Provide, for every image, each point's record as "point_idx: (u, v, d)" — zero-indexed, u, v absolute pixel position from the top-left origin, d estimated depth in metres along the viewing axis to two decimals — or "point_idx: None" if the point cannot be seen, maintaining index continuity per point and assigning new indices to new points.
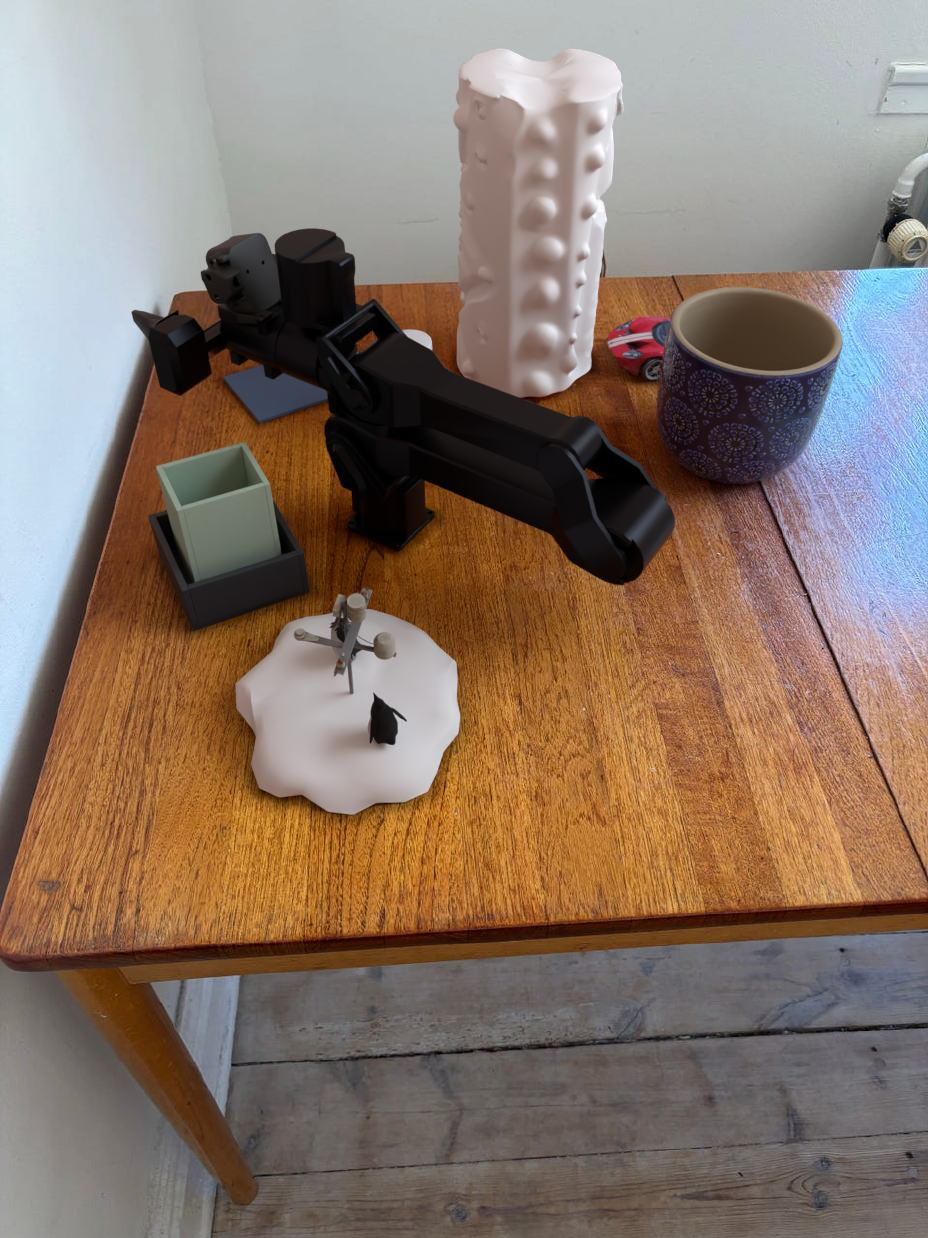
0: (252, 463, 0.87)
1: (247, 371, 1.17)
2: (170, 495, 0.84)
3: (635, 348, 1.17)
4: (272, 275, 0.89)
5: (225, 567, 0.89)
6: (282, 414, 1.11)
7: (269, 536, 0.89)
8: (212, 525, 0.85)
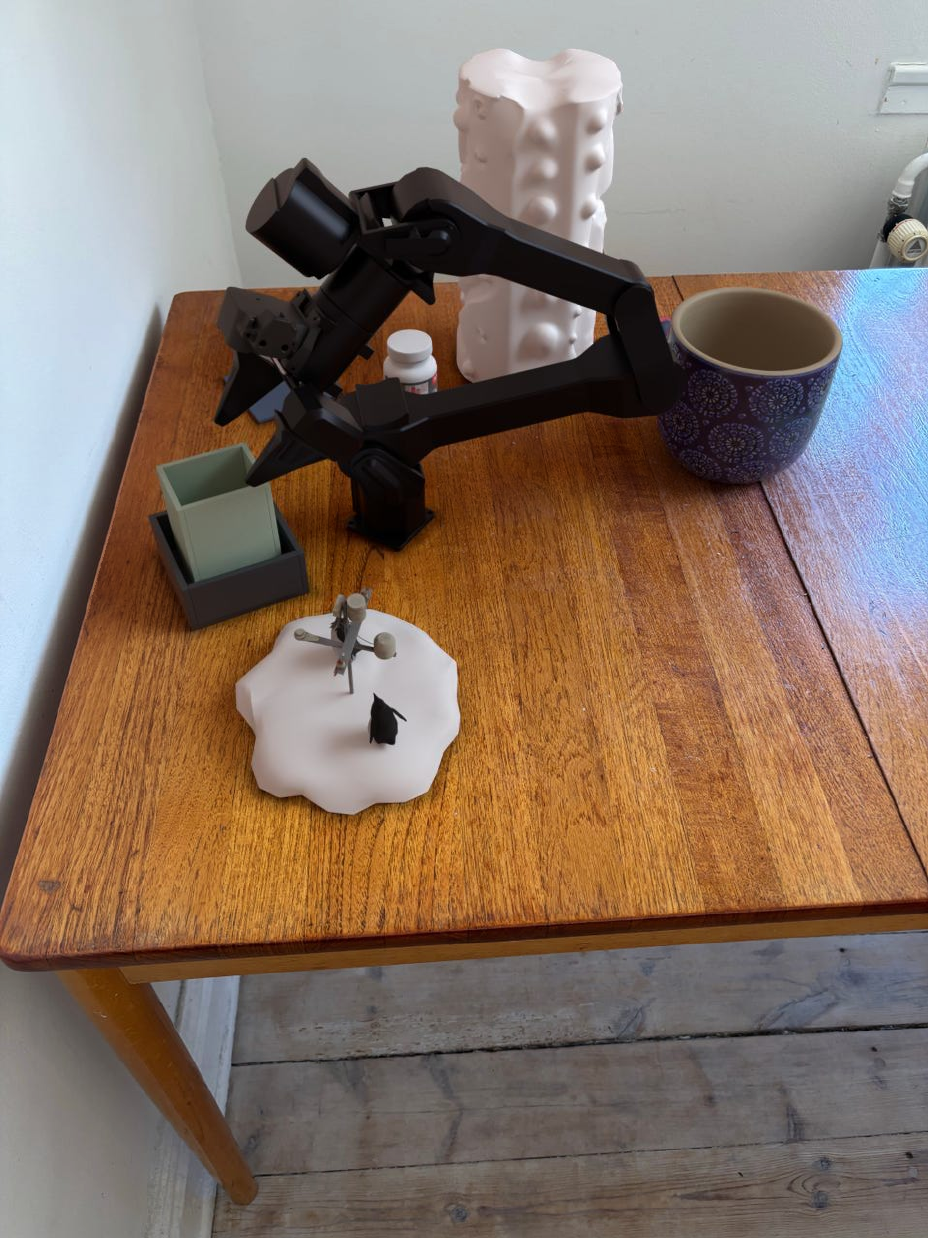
0: (252, 463, 0.87)
1: None
2: (170, 495, 0.84)
3: None
4: (272, 300, 0.80)
5: (225, 567, 0.89)
6: None
7: (269, 536, 0.89)
8: (212, 525, 0.85)
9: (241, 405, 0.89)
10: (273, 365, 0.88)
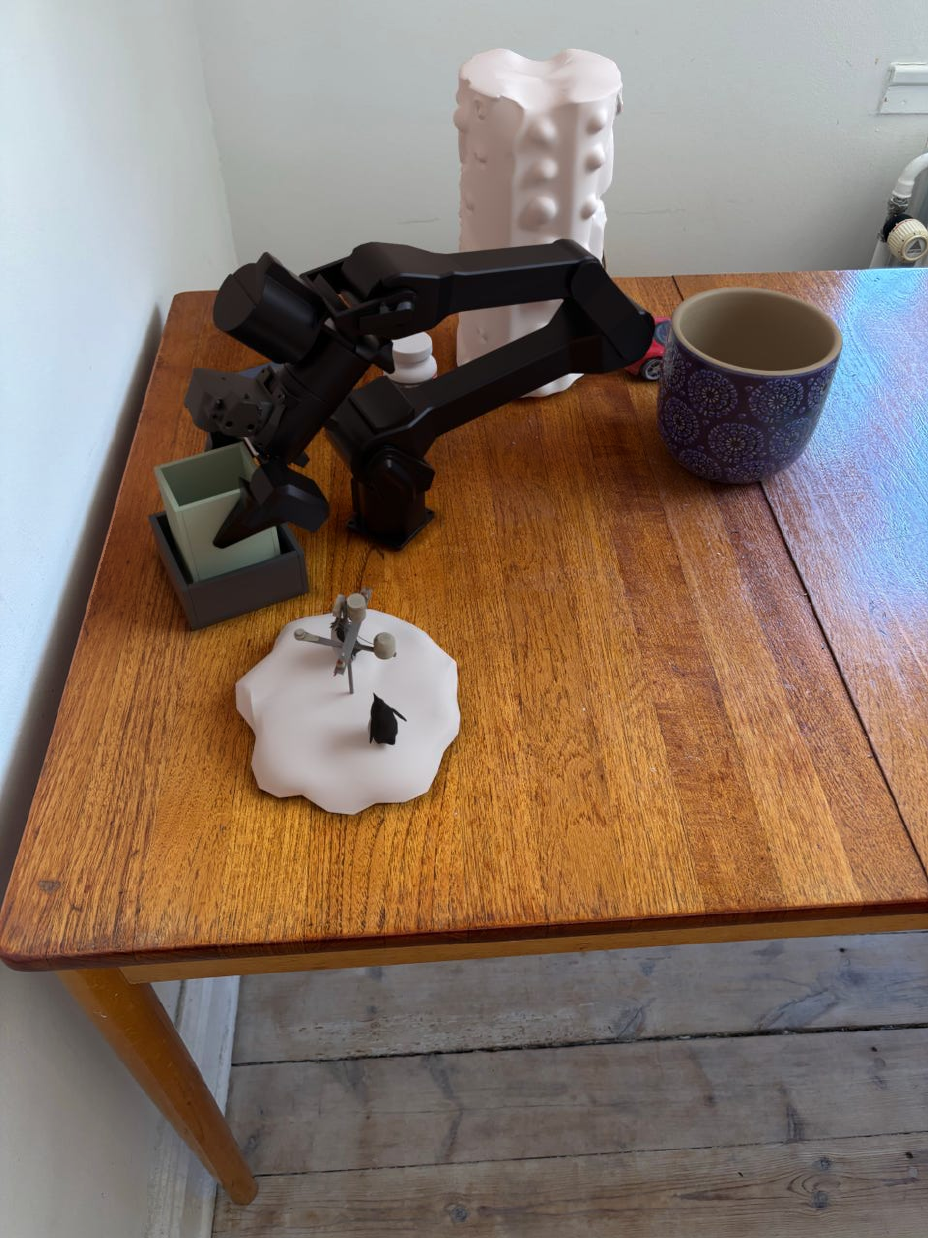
0: (250, 463, 0.87)
1: (247, 371, 1.17)
2: (168, 496, 0.84)
3: None
4: (237, 378, 0.82)
5: (224, 567, 0.89)
6: None
7: (268, 536, 0.89)
8: (210, 525, 0.85)
9: None
10: (246, 441, 0.90)
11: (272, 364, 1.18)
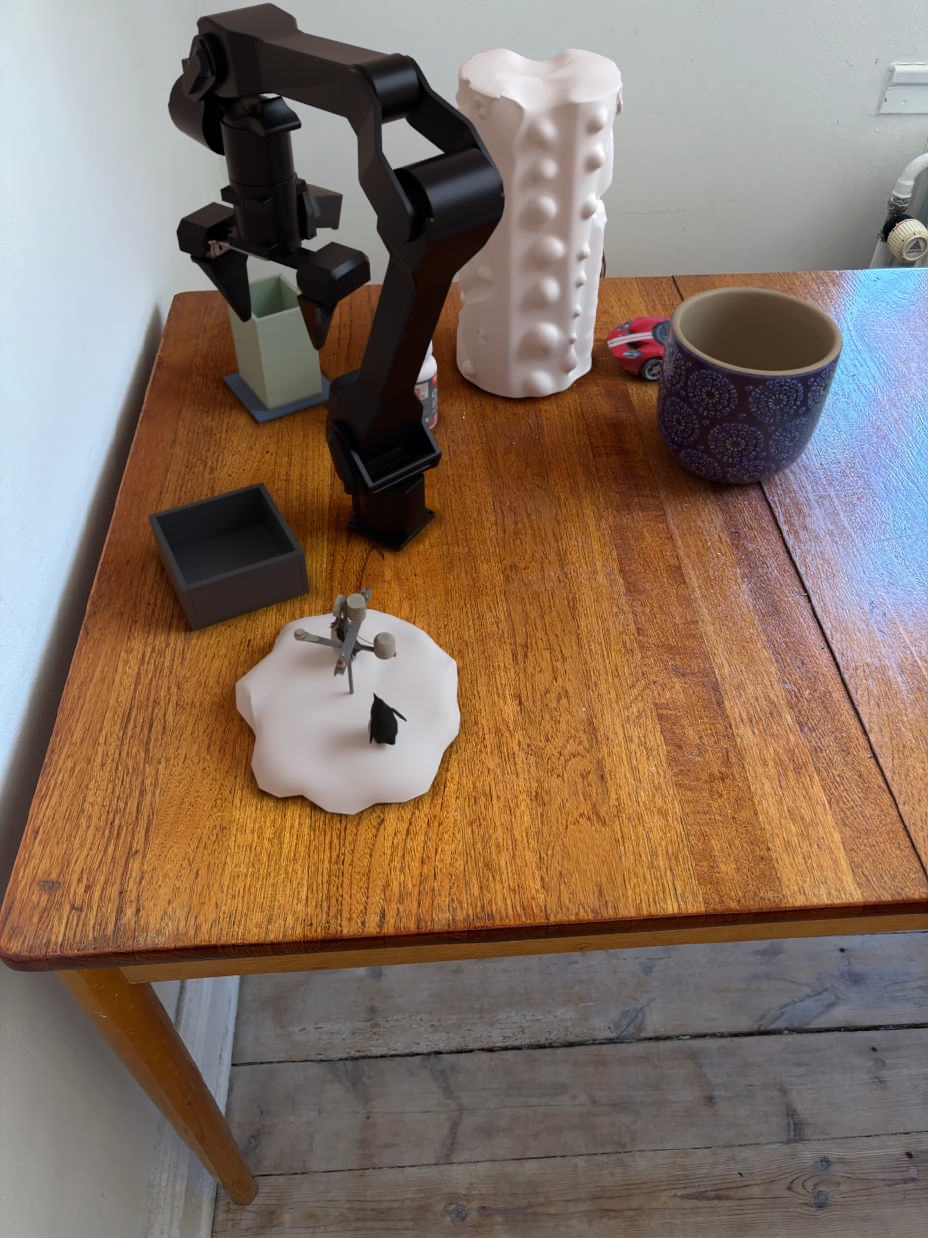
0: (283, 311, 1.05)
1: None
2: None
3: (635, 348, 1.17)
4: (314, 192, 0.92)
5: (245, 362, 1.12)
6: (282, 414, 1.11)
7: (259, 365, 1.08)
8: (237, 320, 1.08)
9: None
10: None
11: None
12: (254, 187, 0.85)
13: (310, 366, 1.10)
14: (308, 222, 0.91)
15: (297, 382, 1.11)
